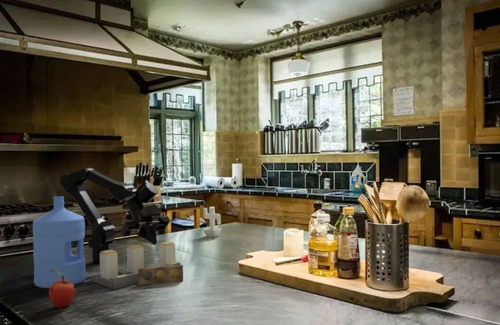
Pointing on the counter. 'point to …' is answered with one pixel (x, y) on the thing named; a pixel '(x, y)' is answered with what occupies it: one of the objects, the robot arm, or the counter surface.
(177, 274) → the plaque
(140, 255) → the button middle
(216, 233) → the figurine
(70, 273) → the water jug
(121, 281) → the button board
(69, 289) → the apple
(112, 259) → the button left
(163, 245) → the button right
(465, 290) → the counter surface
